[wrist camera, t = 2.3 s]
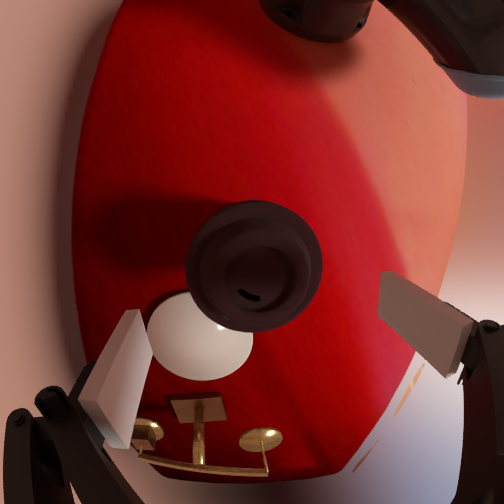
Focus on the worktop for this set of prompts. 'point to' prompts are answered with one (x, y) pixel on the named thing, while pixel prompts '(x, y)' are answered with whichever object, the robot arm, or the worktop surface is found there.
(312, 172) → the worktop surface
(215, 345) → the saucer
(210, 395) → the balance
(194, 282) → the coffee cup
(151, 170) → the worktop surface
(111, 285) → the worktop surface
